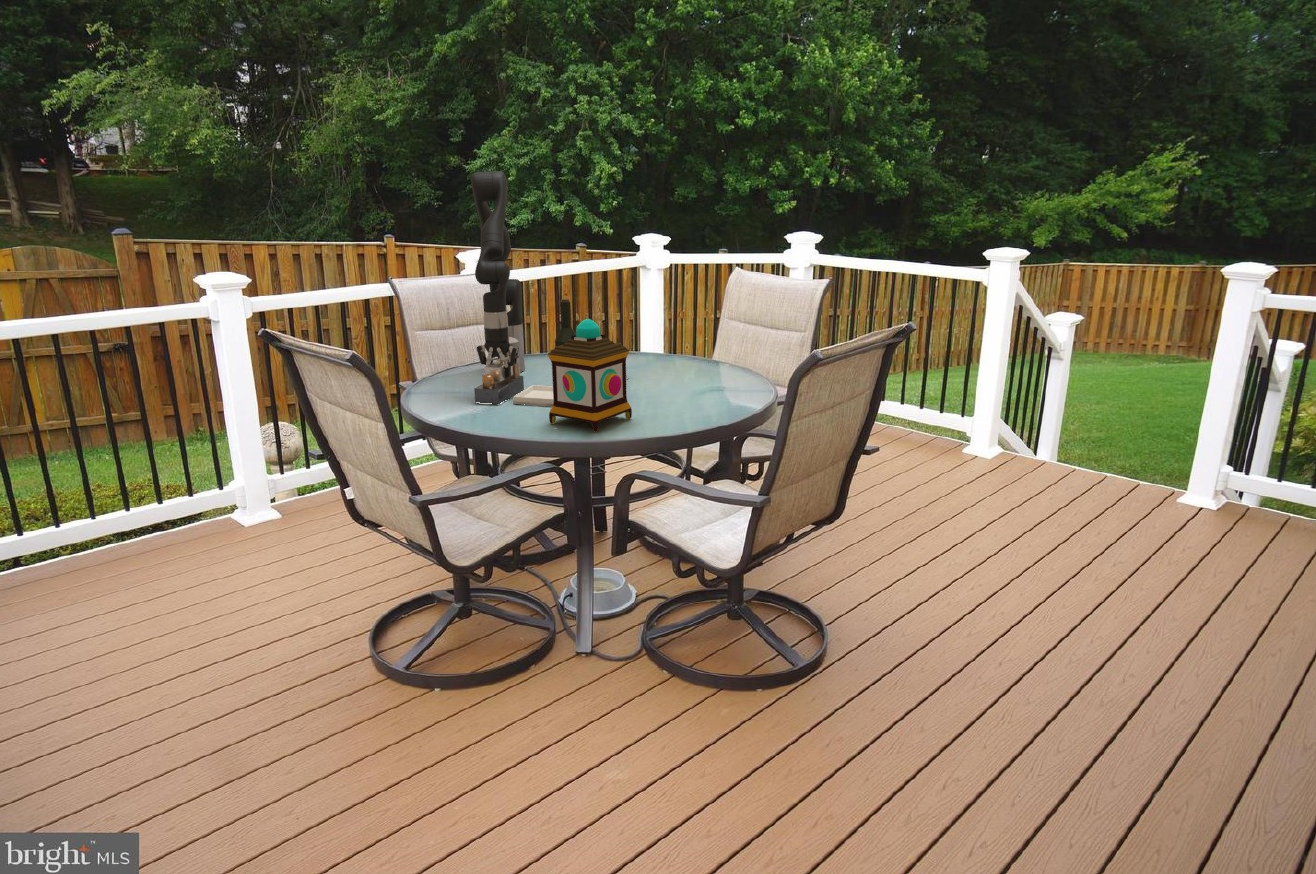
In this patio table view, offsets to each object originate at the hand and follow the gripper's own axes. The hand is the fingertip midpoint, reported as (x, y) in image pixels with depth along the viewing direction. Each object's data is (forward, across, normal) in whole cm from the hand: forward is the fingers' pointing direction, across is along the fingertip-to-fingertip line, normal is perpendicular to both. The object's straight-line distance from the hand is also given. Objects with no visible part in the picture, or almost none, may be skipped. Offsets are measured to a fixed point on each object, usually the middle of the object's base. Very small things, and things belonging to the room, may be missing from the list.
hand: (499, 377), depth 281 cm
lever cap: (0, 0, 0) cm, 0 cm away
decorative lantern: (+6, -38, +21) cm, 44 cm away
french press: (+7, +8, -23) cm, 25 cm away
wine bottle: (+7, -18, -15) cm, 24 cm away
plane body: (+6, 0, 0) cm, 6 cm away
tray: (+6, -15, 0) cm, 16 cm away
